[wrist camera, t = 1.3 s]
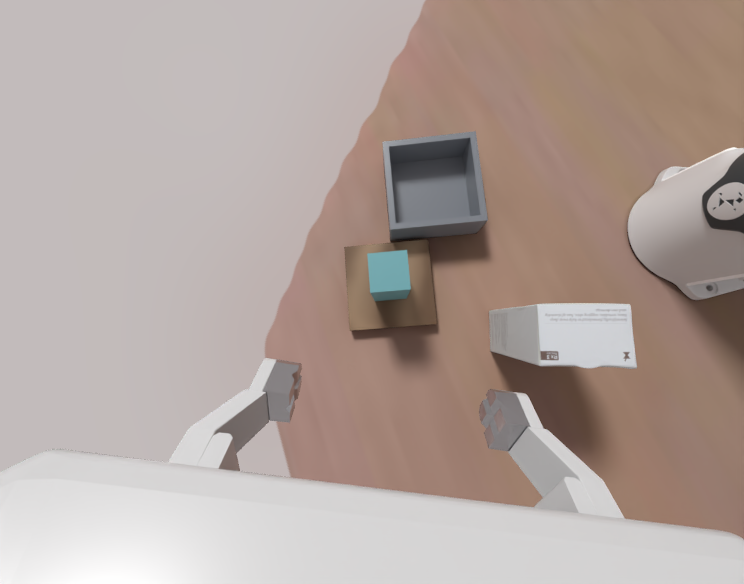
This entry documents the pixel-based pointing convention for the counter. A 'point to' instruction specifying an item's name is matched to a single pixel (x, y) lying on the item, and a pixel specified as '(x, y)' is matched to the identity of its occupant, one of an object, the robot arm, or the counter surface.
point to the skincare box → (565, 334)
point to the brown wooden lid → (390, 312)
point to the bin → (434, 186)
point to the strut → (389, 275)
